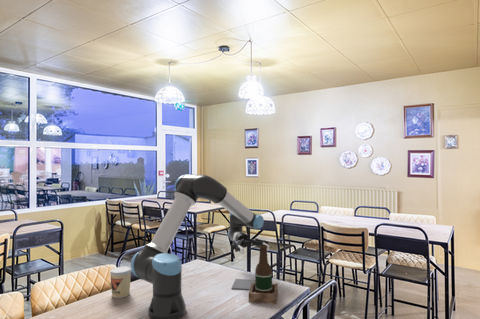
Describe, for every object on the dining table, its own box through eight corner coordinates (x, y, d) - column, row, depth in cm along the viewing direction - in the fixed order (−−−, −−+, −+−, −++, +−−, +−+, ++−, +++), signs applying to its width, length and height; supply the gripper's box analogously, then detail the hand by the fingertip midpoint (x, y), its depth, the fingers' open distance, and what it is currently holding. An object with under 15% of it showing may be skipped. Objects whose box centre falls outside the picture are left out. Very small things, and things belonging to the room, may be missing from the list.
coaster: (231, 289, 155) (231, 287, 155) (235, 279, 167) (235, 278, 167) (255, 290, 153) (255, 289, 153) (258, 281, 165) (258, 279, 165)
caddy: (248, 302, 141) (248, 293, 141) (252, 290, 153) (252, 282, 153) (276, 304, 139) (276, 294, 139) (277, 292, 151) (277, 284, 151)
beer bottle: (271, 301, 141) (270, 247, 141) (254, 300, 143) (253, 247, 143) (273, 294, 149) (272, 243, 149) (256, 293, 150) (256, 242, 150)
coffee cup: (105, 296, 148) (105, 271, 148) (121, 289, 156) (121, 265, 156) (119, 300, 144) (119, 274, 144) (135, 292, 152) (135, 267, 152)
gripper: (262, 243, 179) (278, 254, 159) (220, 248, 171) (231, 260, 151) (262, 230, 179) (278, 239, 159) (219, 234, 171) (231, 244, 151)
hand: (255, 249), depth 155 cm, fingers open, 13 cm apart
